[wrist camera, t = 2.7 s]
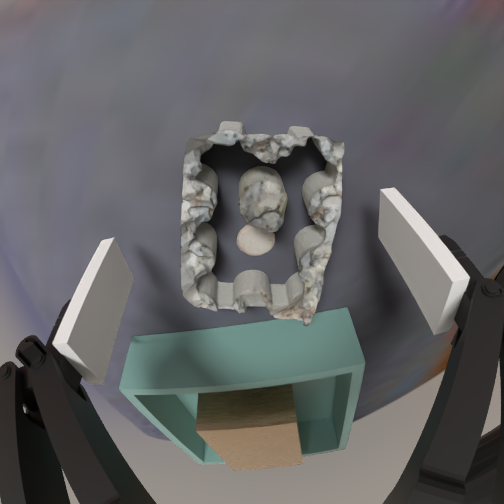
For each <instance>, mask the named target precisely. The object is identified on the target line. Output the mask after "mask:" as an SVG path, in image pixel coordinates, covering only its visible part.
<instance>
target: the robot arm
mask: <svg viewBox="0 0 504 504" xmlns="http://www.w3.org/2000/svg"><path fill="white" fill-rule="evenodd" d="M378 238H379V239H380V241H381V242H382V244H383V246H384V247H385V249H386V250H387V252H388V254H389V255H390V257H391V259H392V260H393V262H394V264H395V265H396V267H397V269H398V270H399V272H400V274H401V275H402V277H403V279H404V280H405V282H406V284H407V286H408V287H409V289H410V291H411V293H412V294H413V296H414V298H415V300H416V302H417V303H418V305H419V307H420V309H421V311H422V313H423V315H424V316H425V318H426V320H427V322H428V324H429V326H430V328H431V330H432V332H433V334H434V335H436V334H439V333H443V332H446V331H449V330H450V329H451V327H452V324H453V322H454V320H455V322H456V323H457V325H458V330H457V332H456V334H455V336H454V338H453V340H452V342H451V344H452V345H453V346H452V350H451V353H450V357H449V360H448V363H447V367H446V370H445V373H444V376H443V380H442V382H441V385H440V388H439V391H438V394H437V396H436V399H435V402H434V404H433V407H432V410H431V412H430V415H429V417H428V420H427V422H426V424H425V427H424V429H423V431H422V434H421V436H420V438H419V441H418V443H417V445H416V447H415V449H414V451H413V453H412V455H411V458H410V460H409V461H408V463H407V465H406V468H405V470H404V471H403V473H402V475H401V477H400V479H399V481H398V482H397V484H396V486H395V487H394V489H393V490H392V492H391V493H390V494H389V496H388V497H387V498H386V500H385V501H384V503H383V504H504V268H503V269H502V271H501V272H500V274H499V275H498V277H497V279H496V280H493V279H488V278H484V277H483V276H482V275H481V273H480V272H479V271H478V269H477V268H476V267H475V266H474V264H473V263H472V262H471V261H470V259H469V258H468V257H466V254H465V253H464V252H463V251H461V248H460V247H459V246H458V245H457V243H456V242H455V241H453V240H452V239H450V238H449V237H447V236H446V235H443V236H437V235H436V234H435V232H434V231H433V230H432V229H431V228H430V226H429V225H428V224H427V223H426V222H425V221H424V220H423V218H422V217H421V216H420V215H419V214H418V213H417V212H416V210H415V209H414V208H413V207H412V206H411V205H410V204H409V203H408V202H407V201H406V200H405V198H404V197H403V196H402V195H401V194H400V193H399V192H398V191H397V190H396V189H395V188H387V189H380V210H379V229H378ZM133 282H134V277H133V275H132V273H131V271H130V269H129V267H128V265H127V263H126V261H125V259H124V257H123V255H122V253H121V251H120V249H119V247H118V245H117V242H116V240H115V238H110V239H106V240H102V241H101V243H100V245H99V246H98V248H97V250H96V252H95V254H94V256H93V258H92V260H91V261H90V263H89V265H88V267H87V269H86V271H85V273H84V275H83V277H82V279H81V281H80V283H79V285H78V287H77V289H76V291H75V293H74V296H73V298H72V299H71V300H69V301H68V302H67V303H66V304H65V305H64V307H63V308H62V310H61V312H60V314H59V316H58V319H57V321H56V323H55V326H54V327H53V330H52V332H51V334H50V337H49V339H48V341H47V344H46V346H45V345H44V344H43V343H42V342H41V341H40V340H39V339H38V337H37V336H34V335H31V336H28V337H26V338H25V339H24V340H22V341H21V342H20V344H19V345H18V347H17V349H16V358H18V359H19V361H20V362H21V363H22V364H23V365H24V366H23V367H20V368H18V367H17V366H16V365H15V364H14V363H13V362H10V361H9V362H6V363H5V364H3V365H2V366H1V367H0V497H1V503H2V504H70V500H69V497H68V493H67V489H66V485H65V481H64V477H63V472H62V469H63V471H64V473H65V475H66V477H67V480H68V482H69V484H70V486H71V488H72V490H73V492H74V493H75V496H76V498H77V499H78V501H79V503H80V504H156V502H155V501H154V500H153V499H152V497H151V496H150V495H149V493H148V492H147V491H146V489H145V488H144V487H143V485H142V484H141V482H140V481H139V480H138V478H137V477H136V475H135V474H134V472H133V471H132V470H131V468H130V467H129V465H128V464H127V462H126V461H125V459H124V458H123V456H122V454H121V453H120V451H119V450H118V448H117V446H116V445H115V443H114V442H113V440H112V438H111V437H110V435H109V433H108V432H107V430H106V428H105V426H104V424H103V423H102V421H101V419H100V417H99V416H98V414H97V412H96V410H95V408H94V406H93V404H92V402H91V401H90V399H89V397H88V395H87V393H86V391H85V389H84V387H83V386H82V385H81V384H80V381H81V378H82V377H83V378H84V379H85V380H86V381H87V382H88V383H89V384H104V381H105V377H106V373H107V369H108V366H109V362H110V358H111V354H112V351H113V347H114V343H115V340H116V336H117V333H118V329H119V326H120V323H121V319H122V316H123V313H124V310H125V306H126V303H127V300H128V297H129V294H130V291H131V288H132V285H133ZM498 361H500V377H501V424H500V425H499V426H497V427H496V428H494V429H493V430H491V431H490V432H488V433H486V434H485V435H483V436H482V437H481V434H482V431H483V427H484V424H485V420H486V417H487V413H488V409H489V405H490V401H491V397H492V392H493V388H494V383H495V378H496V373H497V367H498ZM23 406H24V407H25V408H26V413H24V410H23ZM61 467H62V468H61Z"/></svg>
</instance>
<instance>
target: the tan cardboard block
mask: <svg viewBox="0 0 504 504" xmlns="http://www.w3.org/2000/svg"><path fill="white" fill-rule="evenodd" d="M196 432H197V433H198V434H199V435H200V436H201V437H202V438H203V440H204V441H205V442H206V443H207V444H208V445H209V446H210V447H211V448H212V449H213V450H214V451H215V452H216V453H217V454H218V455H219V456H220V457H221V458H222V459H223V460H224V461H225V462H226V463H227V464H228V465H229V466H230V467H231V468H232V469H233V470H252V469H265V468H275V467H284V466H292V465H299V464H303V458H302V449H301V441H300V433H299V425H298V417H297V410H296V404H295V397H294V391H293V384H292V383H290V384H283V385H276V386H269V387H261V388H252V389H243V390H233V391H222V392H209V393H198V403H197V418H196Z"/></svg>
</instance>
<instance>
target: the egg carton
mask: <svg viewBox="0 0 504 504" xmlns="http://www.w3.org/2000/svg"><path fill="white" fill-rule="evenodd" d="M310 137H311V138H312V140H313V142H314V144H315V146H316V147H317V148H318V150H319V151H320V152H321V154H322V155H323V157H324V158H325V160H327V164H326V167H325V170H324V171H319V172H315V173H314V174H312V175H310V176H309V177H308V178H307V179H306V180H305V182H304V184H303V186H302V196H303V200H304V203H305V205H306V208H307V211H308V215H309V216H310V217H311V219H312V220H313V221H314V222H315V225H310V226H307V227H305V228H303V229H302V230H300V231H299V232H298V233H297V235H296V236H295V238H294V250H295V254H296V259H297V263H298V268H299V272H297V273H295V274H293V275H292V276H291V277H289V279H288V280H287V282H286V283H285V284H282V285H281V284H270V281H269V278H268V277H267V275H266V274H264V273H263V272H261V271H258V270H247V271H244V272H242V273H240V274H239V275H238V276H237V277H236V278H235V280H234V283H224V282H219V281H217V278H216V276H215V275H214V274H213V273H212V272H211V271H212V268H213V267H214V265H215V261H216V251H217V240H218V239H217V234H216V231H215V229H214V228H213V227H212V226H211V225H209V224H208V223H206V222H207V221H209V220H210V219H211V218H212V215H213V211H214V209H215V207H216V205H217V203H218V202H217V192H218V177H217V175H216V173H215V172H214V170H213V169H212V168H210V167H209V166H207V165H205V164H202V163H201V162H200V157H201V155H202V154H203V153H205V152H206V151H207V150H209V149H210V148H211V147H212V146H213V144H220V145H224V146H232V145H234V144H235V143H236V142H238V141H239V142H240V144H241V146H242V148H243V150H244V151H245V152H249V153H253V154H254V155H255V156H256V157H257V158H258V159H260V160H261V161H263V162H265V163H273V164H275V163H276V162H277V160H278V159H279V157H282V156H285V157H287V156H288V155H290V153H291V152H292V150H293V148H294V147H295V146H302V147H304V146H306V143H307V139H308V138H310ZM343 156H344V142H341V143H340V142H335V141H333V140H331V139H329V138H327V137H323V136H314V135H313V133H312V132H311V131H310V129H309V128H306V127H297V126H291V127H290V128H289V130H288V133H287V135H286V134H279V135H275V136H270V135H265V134H249V135H246V134H245V131H244V127H243V124H242V123H240V122H230V121H224V122H221V124H220V127H219V130H218V132H217V133H211V134H206V135H202V136H197V137H193V138H190V139H189V141H188V142H187V146H186V152H185V159H184V169H183V192H182V215H181V287H182V292H183V296H184V297H185V299H186V300H187V301H189V302H190V303H191V304H192V305H194V306H195V307H200V308H208V309H210V310H213V311H215V312H217V310H218V309H233V310H236V311H237V312H238V313H244V312H245V311H246V310H247V309H246V307H247V306H266V307H267V310H268V312H269V313H270V315H271V316H273V317H275V318H279V319H295V320H300V321H304V324H303V325H304V326H308V325H309V324H310V323H311V320H312V316H313V315H314V314H315V311H316V307H317V303H318V301H319V300H320V295H321V291H322V286H323V274H324V270H325V267H326V265H327V262H328V260H329V258H330V255H331V246H332V242H333V238H334V235H335V231H336V227H337V223H338V220H339V218H340V215H341V200H342V157H343ZM238 196H239V199H238V205H239V207H240V214H241V215H242V216H243V218H244V219H245V221H246V222H247V223H248V224H249V225H246V226H245V227H243V228H242V229H241V230H240V232H239V234H238V236H237V245H238V247H239V248H240V250H241V251H243V252H244V253H245V254H248V255H251V256H260V255H262V254H264V253H267V252H269V251H270V250H271V249H272V248H273V245H274V243H275V236H274V235H275V234H274V232H275V231H277V230H278V229H280V227H281V226H282V225H283V222H284V212H285V209H286V205H287V201H288V198H287V194H286V191H285V188H284V185H283V182H282V179H281V177H280V175H279V173H278V172H277V170H276V171H275V170H274V169H272V168H270V167H267V166H256V167H253V168H251V169H249V170H248V171H246V172H245V173H244V174H243V175H242V177H241V179H240V182H239V195H238ZM203 221H206V222H203Z"/></svg>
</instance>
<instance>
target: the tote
mask: <svg viewBox="0 0 504 504" xmlns="http://www.w3.org/2000/svg"><path fill="white" fill-rule="evenodd" d="M303 324H304V321H300V320H295V319H277V320H270V321H263V322H257V323H250V324H242V325H235V326H227V327H220V328H211V329H203V330H194V331H185V332H175V333H165V334H154V335H143V336H132V340H131V344H130V347H129V351H128V355H127V359H126V362H125V366H124V370H123V374H122V378H121V383H120V387H119V390H120V391H121V392H122V393H123V394H124V395H125V396H126V397H127V398H128V399H129V400H130V401H131V402H132V403H133V405H134V406H135V407H136V408H137V409H138V410H139V411H140V412H141V413H142V414H143V415H145V416H146V417H147V418H148V419H149V420H150V421H151V422H152V423H153V424H154V425H155V426H156V427H157V428H158V429H159V430H160V431H161V432H163V433H164V434H165V435H166V436H167V437H168V438H169V439H170V440H171V441H173V442H174V443H175V444H176V445H177V446H178V447H180V448H181V449H182V450H183V451H184V452H185V453H187V454H188V455H189V456H190V457H192V458H193V459H194V460H195V461H196V462H197V463H199V464H227V463H226V462H225V461H224V460H223V459H222V458H221V457H220V456H219V455H218V454H217V453H216V452H215V451H214V450H213V449H212V448H211V447H210V446H209V445H208V444H207V443H206V442H205V441H204V440H203V438H202V437H201V436H200V435H199V434H198V433H197V432H196V418H197V403H198V393H209V392H222V391H233V390H243V389H252V388H261V387H269V386H276V385H283V384H290V383H292V384H293V391H294V397H295V404H296V410H297V417H298V425H299V433H300V441H301V449H302V457H303V456H309V455H316V454H322V453H328V452H333V451H338V450H343V449H345V448H346V444H347V441H348V437H349V434H350V430H351V426H352V422H353V418H354V414H355V410H356V406H357V401H358V397H359V393H360V388H361V383H362V378H363V374H364V368H365V359H364V356H363V353H362V350H361V347H360V344H359V341H358V338H357V335H356V332H355V329H354V326H353V323H352V320H351V317H350V314H349V311H348V308H347V307H345V308H340V309H335V310H330V311H324V312H318V313H315V314H314V315H313V316H312V320H311V323H310V324H309V325H308V326H304V325H303Z"/></svg>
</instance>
